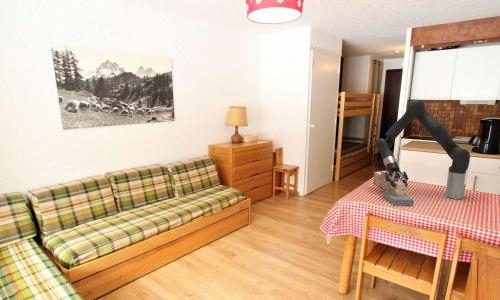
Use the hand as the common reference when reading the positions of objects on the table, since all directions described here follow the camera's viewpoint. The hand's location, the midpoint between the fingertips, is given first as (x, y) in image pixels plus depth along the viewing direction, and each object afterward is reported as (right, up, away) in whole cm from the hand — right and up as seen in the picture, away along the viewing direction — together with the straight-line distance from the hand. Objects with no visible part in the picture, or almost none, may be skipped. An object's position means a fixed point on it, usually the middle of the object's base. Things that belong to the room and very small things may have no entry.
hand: (400, 186), depth 173 cm
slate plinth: (0, -10, +3) cm, 10 cm away
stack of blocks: (+6, -5, +32) cm, 33 cm away
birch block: (0, -6, +3) cm, 6 cm away
